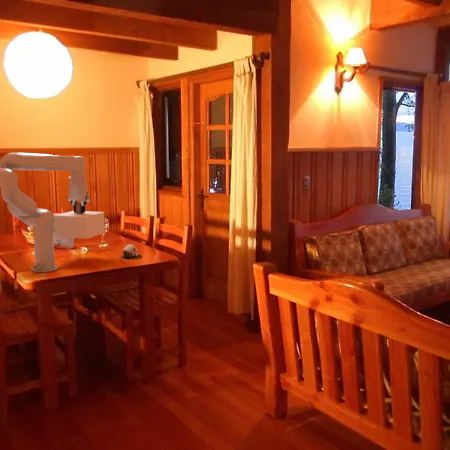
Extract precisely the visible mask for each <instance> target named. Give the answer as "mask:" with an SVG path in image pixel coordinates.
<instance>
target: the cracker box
mask: <svg viewBox="0 0 450 450" xmlns="http://www.w3.org/2000/svg"><path fill="white" fill-rule="evenodd" d="M58 214H60V213H59V212H58V213H53V215H58ZM53 239H54V249H56V248H57V249H62V250H71V249H74V248H75V238H66V237H55V225H54V227H53Z"/></svg>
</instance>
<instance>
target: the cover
mask: <svg viewBox="0 0 450 450" xmlns="http://www.w3.org/2000/svg"><path fill="white" fill-rule="evenodd" d="M81 206H82V205H81V201H77V203H76V213H74V210H71V211H67V212H62V213H59V214H58V215H54V225H55V237H66V238H74V239H85V240H88V239H90V238H93V237H94V238H95V237H96V236H99V235H101V234H104V233H106V230H105V226H106V225H105V212H104V211H89V210H88V211H87V210H85V213H81Z"/></svg>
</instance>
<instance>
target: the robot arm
mask: <svg viewBox="0 0 450 450" xmlns="http://www.w3.org/2000/svg"><path fill="white" fill-rule="evenodd" d="M85 164H86V163H85V157H84V156H82V155H73V156H71V155H58V154H57V155H53V154H48V153H32V152H8V153H7V154H5V155H4V156H3V157H2V158H1V159H0V193H1V198H2V199H3V201H4V202H5V203H6V204H7V210H8V212H9V213H10V214H11V215H12V216H14V217H15V218H16V219H18V220H19V221H21V222H22V223H24V224H26V225H27V226H31V227H35V228H34V231H33V246H34V247H33V249H34V258H35V259H34V265H31V266H30V270H31V271H33V272H35V273H50V272H54V271H57V270H59V265H56V263H55V261H56V260H55V247H54V239H53V227H54V215H53V214H54V213H53V212H52V211H50V210H49V209H46V208H41V207H40V208H39V207H38V205H37V204H38V203H37V202H35V201H34V200H33V198H30V197H29V196H28V195H27V194H25V193H24V192H22V191H21V190H20V189H19V186H18V176H17V173H16V172H15V170H16V171H32V172H33V171H37V172H38V171H39V172H52V171H58V172H59V171H60V172H61V171H66V172H67V171H68V172H69V171H70V176H69V177H68V180H70V181H69V183H68V190H67V191H68V196H67V197H68V198H67V201H68V202H70V203H71V205H72V207H73V211H74V213H76V203H77V202H78V201H79V202H81V205H82V206H81V213H85V211H86V206H87V205H88V203H89V202H91V198H90V196H89V188H88V183H87V181H86V167H85V166H86V165H85Z"/></svg>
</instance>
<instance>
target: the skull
mask: <svg viewBox="0 0 450 450" xmlns="http://www.w3.org/2000/svg"><path fill="white" fill-rule="evenodd" d="M122 254H123V255H121V256H120V257H119V258H120V259H127V260H137V259H140V258H142V257H143V255H142V254H139V253H138V250H137V247H136V246H135V244H131V243H130V244H127V245H126V246H125V247H123V249H122Z"/></svg>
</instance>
